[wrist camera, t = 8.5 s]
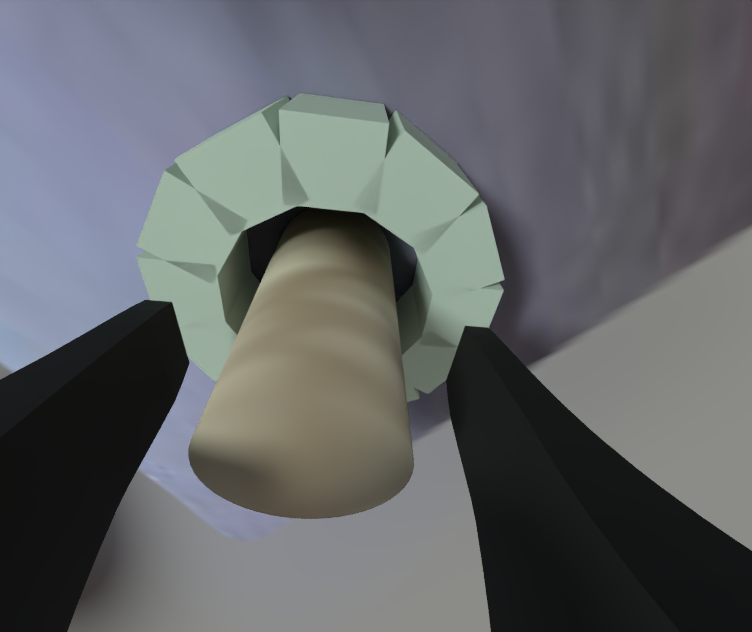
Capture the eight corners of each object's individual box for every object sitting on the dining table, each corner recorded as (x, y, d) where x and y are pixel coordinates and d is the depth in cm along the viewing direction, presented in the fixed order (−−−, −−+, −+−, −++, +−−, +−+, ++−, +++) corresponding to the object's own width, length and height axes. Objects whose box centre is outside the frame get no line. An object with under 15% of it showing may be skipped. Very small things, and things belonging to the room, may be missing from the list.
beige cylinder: (397, 211, 12) (435, 405, 5) (383, 307, 14) (396, 520, 8) (275, 197, 11) (163, 390, 5) (281, 299, 14) (209, 516, 8)
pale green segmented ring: (516, 121, 10) (561, 145, 8) (439, 366, 16) (451, 421, 14) (152, 73, 9) (80, 84, 7) (213, 350, 15) (185, 406, 13)
